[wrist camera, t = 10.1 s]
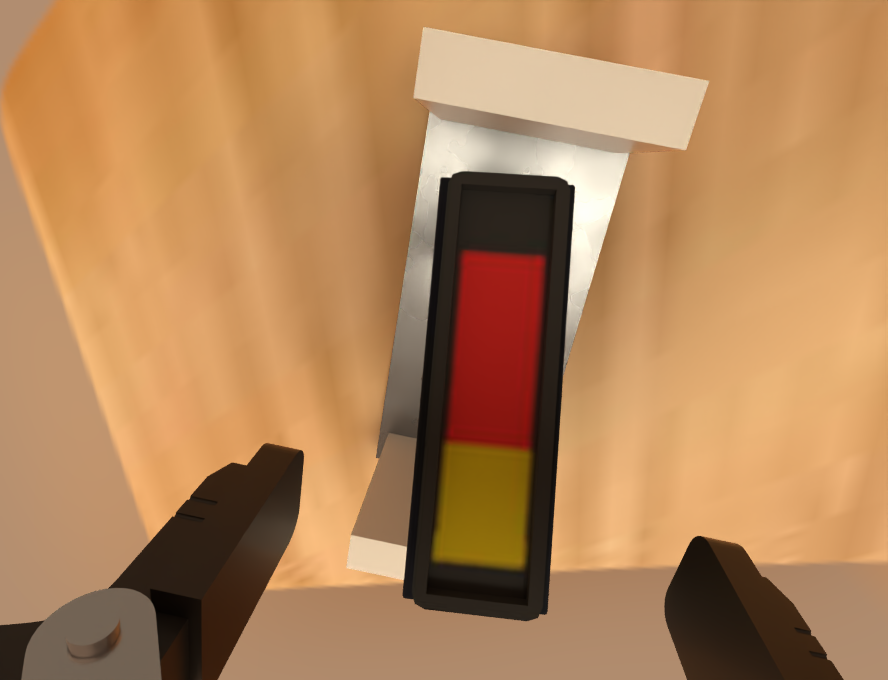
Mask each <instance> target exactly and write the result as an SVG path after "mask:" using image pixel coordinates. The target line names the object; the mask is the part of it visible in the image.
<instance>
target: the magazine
mask: <svg viewBox="0 0 888 680" xmlns="http://www.w3.org/2000/svg"><path fill="white" fill-rule="evenodd" d="M574 200H575V186H574V185H568V182H567V181H566V180H564V179H562V178H560V177H558V176H541V175H524V174H507V173H490V172H473V171H461V172H458V173H455V174H453V175H452V177H451V178H449V177H442V178H441V179H440V187H439V198H438V209H437V221H436V232H435V243H434V254H433V265H432V276H431V287H430V298H429V309H428V320H427V331H426V342H425V353H424V364H423V375H422V386H421V397H420V408H419V419H418V430H417V441H416V452H415V463H414V474H413V485H412V496H411V507H410V518H409V529H408V540H407V551H406V562H405V573H404V584H403V597H404V598H407V599H414V602H415V604H417V605H418V606H420V607H422V608H424V609H428V610H436V611H445V612H454V613H462V614H471V615H479V616H487V617H496V618H505V619H514V620H521V621H529V620H533V619H536V618H538V616H539V614H544V615H545V614H547V611H548V610H547V609H548V596H549V581H550V565H551V550H552V535H553V520H554V504H555V489H556V474H557V459H558V444H559V428H560V413H561V398H562V383H563V367H564V352H565V337H566V322H567V307H568V291H569V276H570V261H571V246H572V230H573V215H574Z"/></svg>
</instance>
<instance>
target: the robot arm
mask: <svg viewBox="0 0 888 680" xmlns="http://www.w3.org/2000/svg"><path fill="white" fill-rule="evenodd" d="M303 462H304V454H303V451H302V450H297V449H293V448H288V447H283V446H279V445H274V444H269V443H266V444H264V445H263V446H262V447H261V448H260V449H259V451H258V452H257V453H256V454H255V456H254V457H253V458H252V459H251V461H250V462H249V463H248V465H247V466H246V465H241V464H237V463H230V464H229V465H227V466H225V467H223V468H222V469H220V470H218V471H217V472H215V473H213V474H211V475H210V476H208V477H207V478H206V479H205V480H204V481H203V482H202V484H201V485H200V486H199V487H198V488H197V489H196V490H195V491H194V493H193V494H192V495H191V497H190V499H189V500H187V501H186V502H185V503H184V504H183V505H182V506H181V507H180V509H179V510H178V511H177V512H176V515H175V517H173V516H172V518H171V519H170V520H169V521H168V522H167V523H166V524H165V526H164V527H163V528H162V529H161V530H160V531H159V532H158V533H157V535H156V536H155V537H154V538H153V539H152V540H151V541H150V543H149V544H148V545H147V546H146V547H145V548H144V549H143V550H142V552H141V553H140V554H139V555H138V556H137V557H136V558H135V560H134V561H133V562H132V563H131V564H130V565H129V566H128V568H127V569H126V570H125V571H124V572H123V573H122V574H121V576H120V577H119V578H118V579H117V580H116V581H115V582H114V583H113V584H112V585H111V586H110V587H109V588H108V589H103V590H99V591H94V592H91V593H88V594H85V595H83V596H81V597H78V598H76V599H74V600H72V601H70V602H69V603H67V604H65V605H64V606H62V607H61V608H59V609H58V610H56V611H55V612H54V613H53V614H51V615H50V616H49V617H48V618H47V619H46V620H44V621H39V622H32V623H22V624H10V625H0V680H217V679H218V678H219V676H220V674H221V672H222V670H223V668H224V666H225V664H226V662H227V660H228V659H229V656H230V655H231V653H232V651H233V649H234V647H235V645H236V643H237V641H238V639H239V637H240V636H241V634H242V631H243V630H244V628H245V626H246V624H247V622H248V620H249V618H250V616H251V615H252V613H253V611H254V609H255V607H256V605H257V603H258V601H259V599H260V597H261V595H262V594H263V592H264V590H265V588H266V586H267V584H268V582H269V580H270V578H271V576H272V574H273V573H274V571H275V569H276V567H277V565H278V563H279V561H280V559H281V557H282V555H283V553H284V551H285V550H286V548H287V546H288V544H289V542H290V540H291V537H292V535H293V532H294V529H295V526H296V523H297V519H298V514H299V507H300V496H301V485H302V473H303ZM665 618H666V622H667V626H668V629H669V631H670V634H671V637H672V640H673V642H674V645H675V648H676V651H677V653H678V656H679V659H680V661H681V664H682V667H683V670H684V672H685V675H686V678H687V680H843V678H842V676H841V675H840V673H839V672H838V671H837V669H836V668H835V666H834V664H833V663H832V662H831V661H830V660H827V657H826V656H827V654H826V652H825V651H824V649H823V648H822V646H821V645H820V643H819V642H818V640H817V639H816V637H814V636H811V630H810V628H809V627H808V625H807V624H806V622H805V621H804V619H803V618H802V616H801V615H800V613H799V612H798V610H797V609H796V607H795V606H794V604H793V603H792V602H791V601H790V600H789V599H788V598H787V597H786V596H785V595H784V594H783V593H782V592H781V591H780V590H779V589H777V587H776V586H775V585H773V584H772V583H771V582H770V581H769V580H768V579H767V578H765V577H762V576H761V575H760V573H759V571H758V570H757V568H756V567H755V565H754V564H753V562H752V560H751V559H750V557H749V556H748V554H747V552H746V551H745V550H744V548H743V547H742V546H740V545H738V544H735V543H731V542H726V541H721V540H716V539H712V538H707V537H702V536H697V537H695V538H693V539H692V541H691V542H690V544H689V546H688V548H687V550H686V552H685V554H684V556H683V558H682V560H681V563H680V565H679V567H678V569H677V571H676V573H675V575H674V577H673V579H672V581H671V584H670V586H669V587H668V590H667V593H666V597H665Z"/></svg>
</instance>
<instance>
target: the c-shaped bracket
mask: <svg viewBox="0 0 888 680" xmlns="http://www.w3.org/2000/svg"><path fill="white" fill-rule="evenodd" d="M708 83H709V81H707V80H702V79H696V78H691V77H686V76H681V75H675V74H670V73H665V72H660V71H654V70H649V69H644V68H638V67H633V66H628V65H623V64H617V63H612V62H607V61H602V60H596V59H591V58H586V57H580V56H575V55H570V54H565V53H559V52H554V51H549V50H544V49H538V48H533V47H528V46H523V45H517V44H512V43H507V42H501V41H496V40H491V39H486V38H480V37H475V36H470V35H465V34H459V33H454V32H449V31H443V30H438V29H433V28H428V27H423V33H422V40H421V47H420V54H419V61H418V68H417V75H416V82H415V89H414V96H413V98H414V99H415V100H417V101H418V102H419V103H420V104H422V105H423V106H424V107H425V108H427V109H428V110H429V111H430V112H432V113H433V114H434V115H435V116H437V117H438V118H439V119H442V120H447V121H452V122H457V123H463V124H468V125H473V126H478V127H483V128H488V129H494V130H499V131H504V132H509V133H514V134H519V135H525V136H530V137H535V138H540V139H545V140H550V141H556V142H561V143H566V144H571V145H576V146H582V147H587V148H592V149H597V150H602V151H607V152H613V153H638V152H660V151H681V150H686V148H687V145H688V142H689V140H690V137H691V134H692V131H693V128H694V125H695V122H696V119H697V116H698V113H699V110H700V107H701V104H702V101H703V98H704V95H705V92H706V89H707V86H708ZM416 441H417V439H416V438H411V437H406V436H402V435H397V434H392V433H389V434H388V436H387V439H386V442H385V444H384V447H383V450H382V453H381V455H380V458H379V461H378V463H377V466H376V469H375V472H374V474H373V477H372V480H371V482H370V485H369V488H368V490H367V493H366V496H365V499H364V501H363V504H362V507H361V509H360V512H359V515H358V518H357V520H356V523H355V526H354V528H353V531H352V534H351V539H350V546H349V553H348V560H347V567H346V568H349V569H354V570H358V571H363V572H368V573H373V574H377V575H382V576H387V577H392V578H396V579H401V580H404V573H405V562H406V551H407V540H408V529H409V518H410V507H411V496H412V485H413V474H414V463H415V452H416Z"/></svg>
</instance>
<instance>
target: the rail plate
mask: <svg viewBox="0 0 888 680" xmlns="http://www.w3.org/2000/svg"><path fill="white" fill-rule="evenodd" d="M628 157H629V153H613V152H607V151H602V150H597V149H592V148H587V147H582V146H576V145H571V144H566V143H561V142H556V141H550V140H545V139H540V138H535V137H530V136H525V135H519V134H514V133H509V132H504V131H499V130H494V129H488V128H483V127H478V126H473V125H468V124H463V123H457V122H452V121H447V120H442V119H439V118H438V117H437V116H435V115H434V114H433V113H432V112H429V118H428V125H427V131H426V138H425V144H424V151H423V157H422V164H421V170H420V177H419V183H418V190H417V196H416V202H415V209H414V215H413V222H412V228H411V235H410V241H409V248H408V254H407V261H406V267H405V274H404V280H403V286H402V293H401V299H400V306H399V312H398V319H397V325H396V332H395V338H394V345H393V351H392V358H391V364H390V370H389V377H388V383H387V390H386V396H385V403H384V409H383V416H382V422H381V429H380V435H379V442H378V448H377V455H376V458H380V455H381V453H382V450H383V447H384V444H385V442H386V439H387V436H388V434H389V433H392V434H397V435H402V436H406V437H411V438H416V439H417V430H418V419H419V408H420V397H421V386H422V375H423V364H424V353H425V342H426V331H427V320H428V309H429V298H430V287H431V276H432V265H433V254H434V243H435V232H436V221H437V209H438V198H439V187H440V179H441V178H442V177H449V178H451V177H452V175H453V174H455V173H458V172H461V171H473V172H490V173H507V174H524V175H541V176H558V177H560V178H562V179H564V180H566V181H567V182H568V185H574V186H575V200H574V215H573V230H572V246H571V261H570V276H569V291H568V307H567V322H566V337H565V352H564V367H563V375H564V371H565V368H566V365H567V361H568V358H569V355H570V351H571V348H572V345H573V341H574V338H575V335H576V331H577V328H578V324H579V321H580V318H581V314H582V311H583V308H584V304H585V301H586V298H587V294H588V291H589V288H590V284H591V281H592V278H593V274H594V271H595V267H596V264H597V261H598V257H599V254H600V251H601V247H602V244H603V241H604V237H605V234H606V231H607V227H608V224H609V221H610V217H611V214H612V210H613V207H614V204H615V200H616V197H617V194H618V190H619V187H620V184H621V180H622V177H623V174H624V170H625V167H626V164H627V160H628Z"/></svg>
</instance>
